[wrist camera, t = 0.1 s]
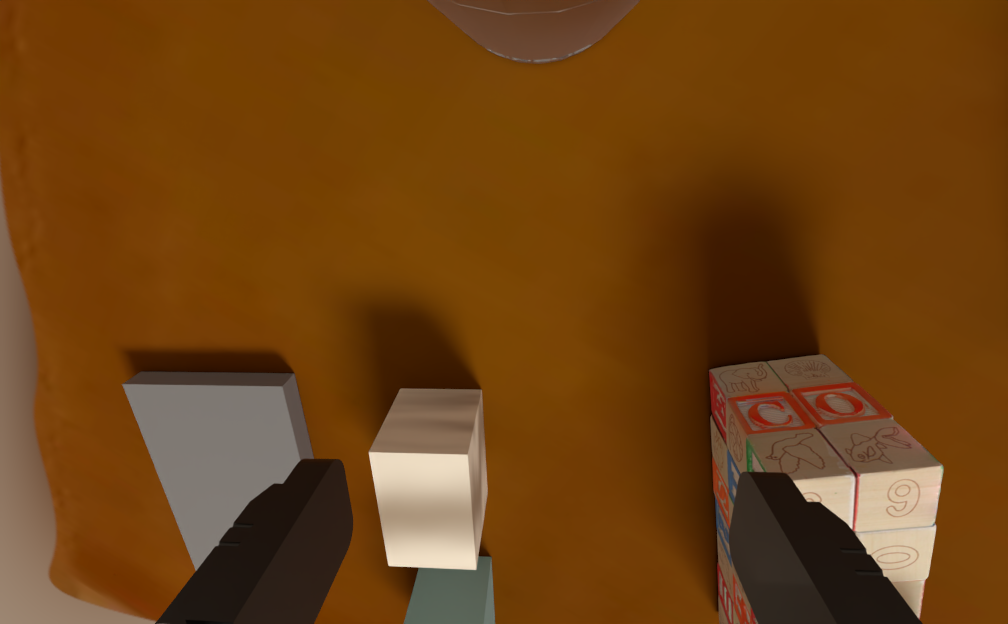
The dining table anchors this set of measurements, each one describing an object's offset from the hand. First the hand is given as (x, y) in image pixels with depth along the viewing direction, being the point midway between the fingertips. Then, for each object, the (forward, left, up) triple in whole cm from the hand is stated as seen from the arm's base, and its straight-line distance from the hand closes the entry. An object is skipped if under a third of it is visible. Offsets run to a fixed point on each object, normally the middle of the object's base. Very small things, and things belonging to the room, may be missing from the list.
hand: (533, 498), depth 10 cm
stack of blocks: (+17, +14, -17) cm, 28 cm away
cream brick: (+12, -6, -17) cm, 22 cm away
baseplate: (+15, -20, -17) cm, 31 cm away
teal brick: (+26, -6, -17) cm, 32 cm away
